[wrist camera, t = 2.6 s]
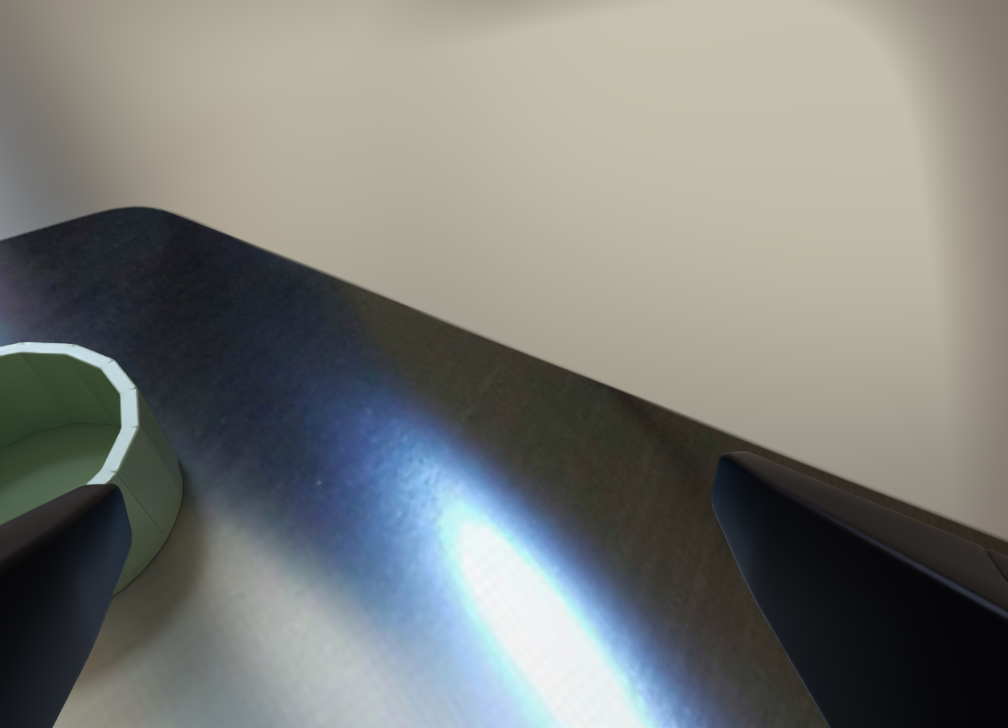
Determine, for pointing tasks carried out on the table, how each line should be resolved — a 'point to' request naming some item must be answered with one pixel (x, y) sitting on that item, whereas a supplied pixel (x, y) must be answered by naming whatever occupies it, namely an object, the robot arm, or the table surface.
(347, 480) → the table surface
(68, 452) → the pale green bowl
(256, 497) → the table surface
